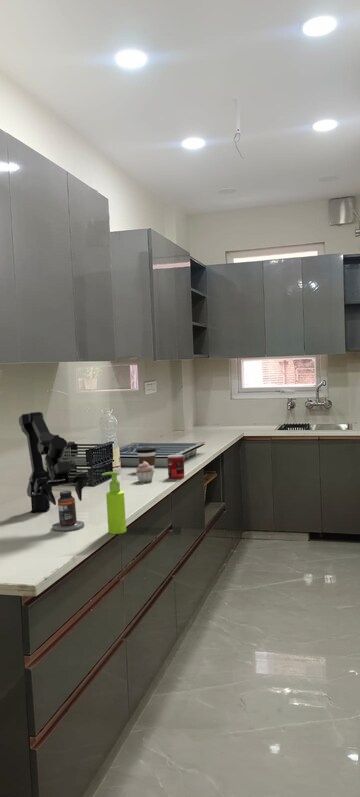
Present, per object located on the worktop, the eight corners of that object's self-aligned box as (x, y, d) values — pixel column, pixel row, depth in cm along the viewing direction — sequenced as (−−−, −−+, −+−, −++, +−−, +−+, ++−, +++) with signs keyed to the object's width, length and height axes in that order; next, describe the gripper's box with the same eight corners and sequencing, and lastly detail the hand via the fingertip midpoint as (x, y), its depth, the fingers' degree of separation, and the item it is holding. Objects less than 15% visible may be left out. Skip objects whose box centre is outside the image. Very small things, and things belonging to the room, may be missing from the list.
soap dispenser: (106, 529, 207) (103, 471, 206) (127, 528, 207) (123, 470, 206) (104, 534, 201) (100, 474, 200) (125, 533, 201) (121, 473, 200)
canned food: (169, 476, 305) (168, 454, 304) (185, 476, 304) (184, 454, 303) (167, 479, 297) (166, 456, 297) (183, 478, 296) (182, 456, 296)
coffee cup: (143, 469, 332) (141, 447, 332) (161, 469, 328) (160, 447, 327) (133, 472, 322) (132, 450, 322) (152, 473, 318) (151, 450, 317)
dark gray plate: (49, 532, 207) (49, 529, 207) (55, 524, 218) (54, 521, 218) (82, 530, 208) (82, 527, 208) (86, 522, 219) (85, 519, 219)
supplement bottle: (73, 520, 217) (70, 489, 217) (79, 523, 212) (77, 491, 212) (56, 523, 214) (54, 491, 213) (63, 527, 209) (60, 494, 208)
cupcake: (135, 480, 299) (134, 460, 299) (154, 479, 300) (153, 458, 299) (135, 483, 290) (134, 462, 290) (155, 482, 291) (153, 461, 290)
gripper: (34, 455, 211) (45, 492, 201) (85, 449, 220) (98, 484, 211) (29, 475, 218) (40, 511, 209) (78, 469, 227) (91, 503, 218)
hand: (68, 502), depth 211 cm, fingers open, 9 cm apart
